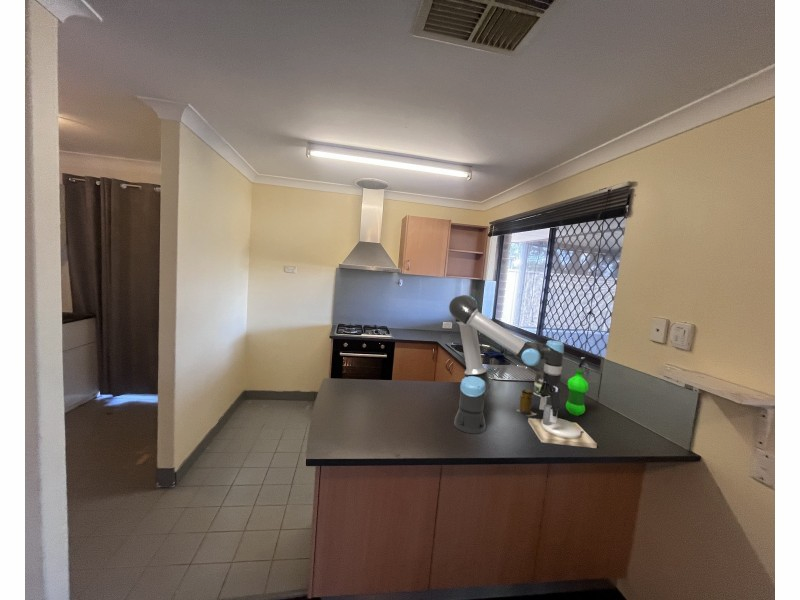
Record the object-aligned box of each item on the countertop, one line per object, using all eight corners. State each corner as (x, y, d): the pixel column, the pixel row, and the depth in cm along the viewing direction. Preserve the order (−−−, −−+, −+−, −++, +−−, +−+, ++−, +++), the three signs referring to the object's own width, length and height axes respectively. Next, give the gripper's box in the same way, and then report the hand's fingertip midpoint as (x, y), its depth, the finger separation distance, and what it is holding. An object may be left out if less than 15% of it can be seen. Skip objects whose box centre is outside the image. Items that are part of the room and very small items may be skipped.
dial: (586, 441, 142) (589, 417, 141) (547, 435, 144) (549, 413, 143) (572, 423, 158) (574, 402, 157) (537, 419, 161) (539, 398, 160)
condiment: (524, 408, 179) (526, 388, 178) (537, 414, 172) (539, 393, 171) (515, 410, 176) (517, 389, 175) (528, 417, 168) (530, 395, 167)
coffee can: (551, 398, 196) (554, 376, 195) (534, 395, 199) (536, 374, 198) (549, 392, 206) (551, 372, 205) (532, 390, 209) (534, 369, 208)
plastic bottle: (564, 414, 174) (569, 371, 171) (564, 407, 183) (569, 366, 181) (585, 419, 169) (590, 374, 167) (584, 412, 178) (589, 369, 176)
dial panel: (541, 442, 143) (542, 437, 143) (528, 421, 163) (528, 417, 162) (596, 448, 141) (597, 443, 140) (576, 426, 160) (576, 422, 160)
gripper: (572, 382, 137) (566, 429, 139) (550, 366, 161) (546, 405, 163) (554, 381, 137) (549, 427, 139) (535, 364, 162) (531, 403, 164)
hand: (547, 415), depth 151 cm, fingers open, 13 cm apart
